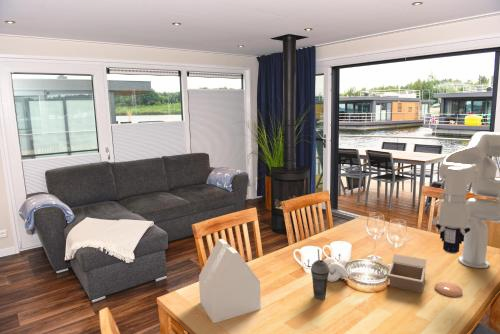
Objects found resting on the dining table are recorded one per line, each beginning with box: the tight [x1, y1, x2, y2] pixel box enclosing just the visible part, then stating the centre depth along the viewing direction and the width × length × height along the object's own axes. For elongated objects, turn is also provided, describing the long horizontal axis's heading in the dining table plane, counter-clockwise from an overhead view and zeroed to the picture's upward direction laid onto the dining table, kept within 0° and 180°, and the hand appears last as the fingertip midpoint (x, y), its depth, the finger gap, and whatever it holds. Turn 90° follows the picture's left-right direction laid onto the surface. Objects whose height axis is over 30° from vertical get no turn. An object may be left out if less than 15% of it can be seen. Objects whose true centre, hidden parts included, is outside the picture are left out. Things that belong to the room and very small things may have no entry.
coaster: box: [434, 281, 463, 298], centre depth 147 cm, size 10×10×1 cm
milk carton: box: [198, 238, 262, 324], centre depth 138 cm, size 19×15×25 cm
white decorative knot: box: [323, 257, 350, 282], centre depth 158 cm, size 11×12×9 cm
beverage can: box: [442, 226, 461, 255], centre depth 143 cm, size 6×6×12 cm
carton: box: [385, 253, 427, 293], centre depth 154 cm, size 23×14×7 cm, turn 150°
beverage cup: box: [310, 248, 329, 301], centre depth 143 cm, size 7×7×20 cm
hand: (451, 241), depth 144 cm, fingers closed on beverage can, 5 cm apart
